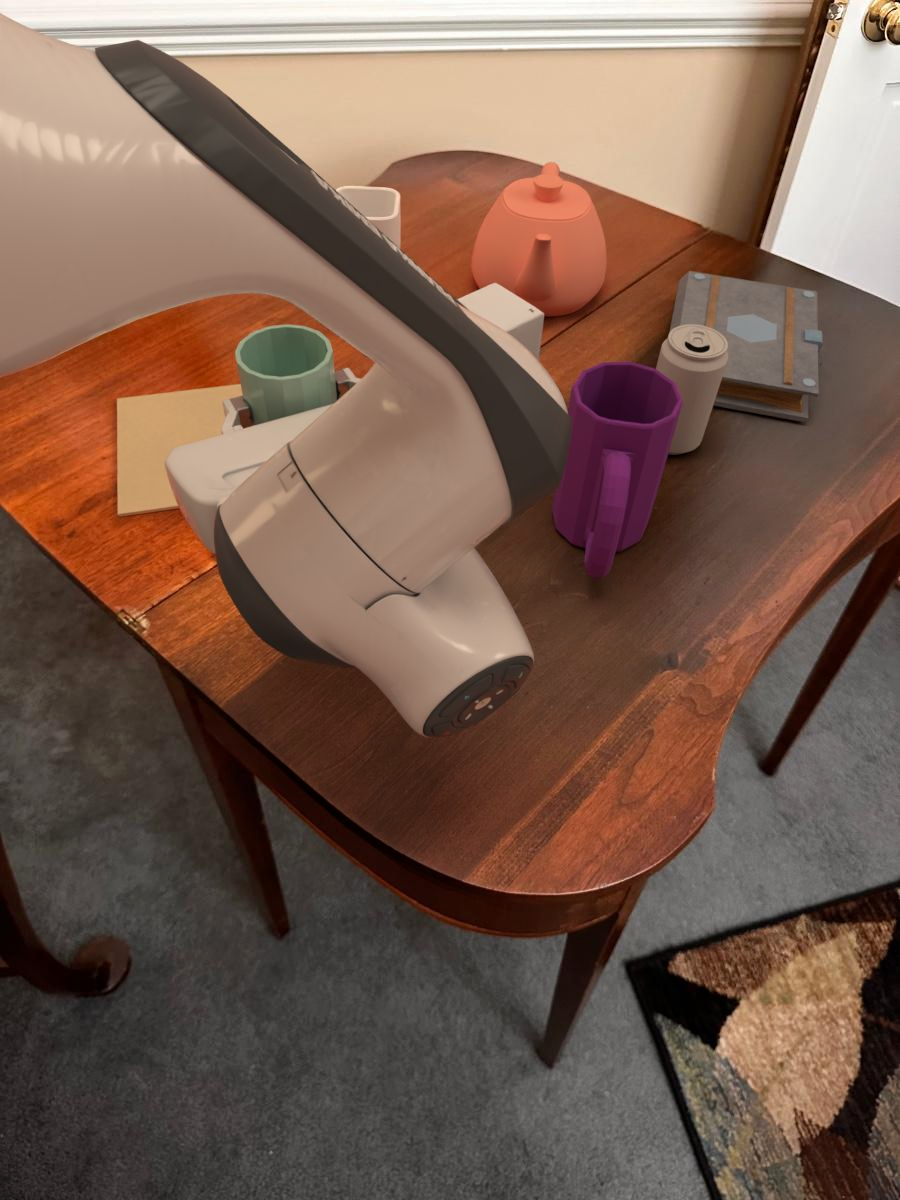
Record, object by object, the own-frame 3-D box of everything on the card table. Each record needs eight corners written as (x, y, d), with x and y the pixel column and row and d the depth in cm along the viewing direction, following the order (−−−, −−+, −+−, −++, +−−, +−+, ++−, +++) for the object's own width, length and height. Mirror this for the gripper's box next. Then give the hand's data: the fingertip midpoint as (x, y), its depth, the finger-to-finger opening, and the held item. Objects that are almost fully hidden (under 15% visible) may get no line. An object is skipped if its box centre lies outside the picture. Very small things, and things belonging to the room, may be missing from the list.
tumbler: (259, 488, 63) (240, 384, 56) (249, 433, 67) (230, 330, 60) (347, 475, 64) (339, 372, 58) (332, 421, 69) (323, 319, 62)
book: (674, 300, 109) (683, 263, 106) (808, 322, 107) (823, 285, 103) (656, 398, 96) (666, 359, 92) (809, 426, 94) (825, 387, 90)
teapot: (600, 352, 101) (621, 242, 91) (458, 338, 102) (463, 227, 92) (603, 247, 117) (621, 143, 107) (480, 235, 118) (486, 131, 108)
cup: (398, 344, 101) (397, 219, 90) (336, 341, 101) (326, 216, 90) (402, 310, 106) (401, 187, 95) (342, 307, 106) (334, 184, 94)
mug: (647, 495, 86) (683, 366, 74) (643, 615, 76) (684, 487, 64) (555, 483, 87) (576, 353, 75) (539, 600, 77) (561, 471, 65)
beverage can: (636, 452, 90) (661, 352, 81) (642, 415, 94) (667, 316, 85) (698, 463, 89) (731, 364, 80) (701, 425, 93) (733, 326, 84)
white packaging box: (488, 384, 97) (496, 279, 87) (533, 418, 93) (547, 312, 83) (436, 409, 94) (439, 303, 84) (481, 445, 90) (490, 338, 80)
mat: (118, 517, 82) (117, 514, 81) (117, 401, 93) (116, 398, 92) (370, 481, 86) (370, 478, 86) (340, 374, 97) (340, 371, 97)
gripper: (511, 428, 55) (417, 319, 63) (195, 525, 49) (134, 390, 57) (503, 501, 60) (417, 391, 68) (215, 598, 54) (156, 464, 62)
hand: (286, 391), depth 62 cm, fingers closed on tumbler, 6 cm apart
